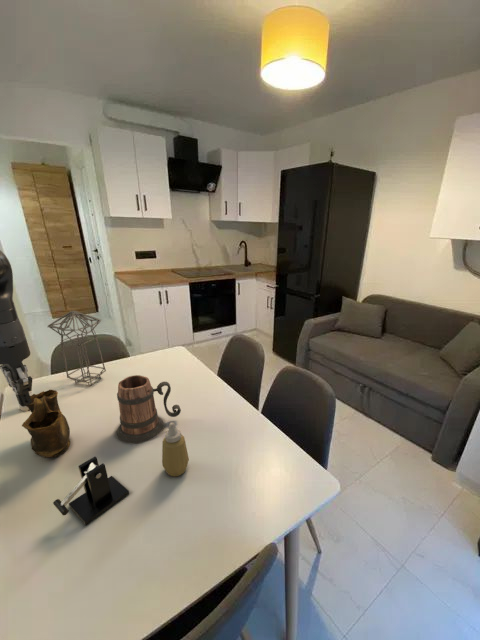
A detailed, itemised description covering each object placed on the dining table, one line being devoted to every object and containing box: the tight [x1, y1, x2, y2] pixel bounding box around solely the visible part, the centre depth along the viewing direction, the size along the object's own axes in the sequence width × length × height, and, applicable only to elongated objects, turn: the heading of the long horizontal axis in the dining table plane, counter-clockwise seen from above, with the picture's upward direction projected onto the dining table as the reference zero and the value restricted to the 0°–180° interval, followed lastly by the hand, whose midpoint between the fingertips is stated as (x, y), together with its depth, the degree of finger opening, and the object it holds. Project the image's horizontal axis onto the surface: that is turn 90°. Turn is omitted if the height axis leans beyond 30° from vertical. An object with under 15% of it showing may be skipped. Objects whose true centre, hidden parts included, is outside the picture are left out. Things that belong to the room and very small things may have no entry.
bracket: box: [68, 456, 130, 526], centre depth 78 cm, size 12×9×13 cm
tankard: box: [115, 374, 182, 444], centre depth 107 cm, size 24×17×20 cm
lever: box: [53, 462, 98, 516], centre depth 74 cm, size 12×5×2 cm, turn 144°
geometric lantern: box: [47, 310, 107, 387], centre depth 132 cm, size 16×16×35 cm
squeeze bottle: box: [161, 421, 190, 477], centre depth 88 cm, size 8×8×18 cm
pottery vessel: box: [21, 389, 71, 458], centre depth 94 cm, size 25×11×20 cm, turn 37°
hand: (25, 404), depth 72 cm, fingers closed
